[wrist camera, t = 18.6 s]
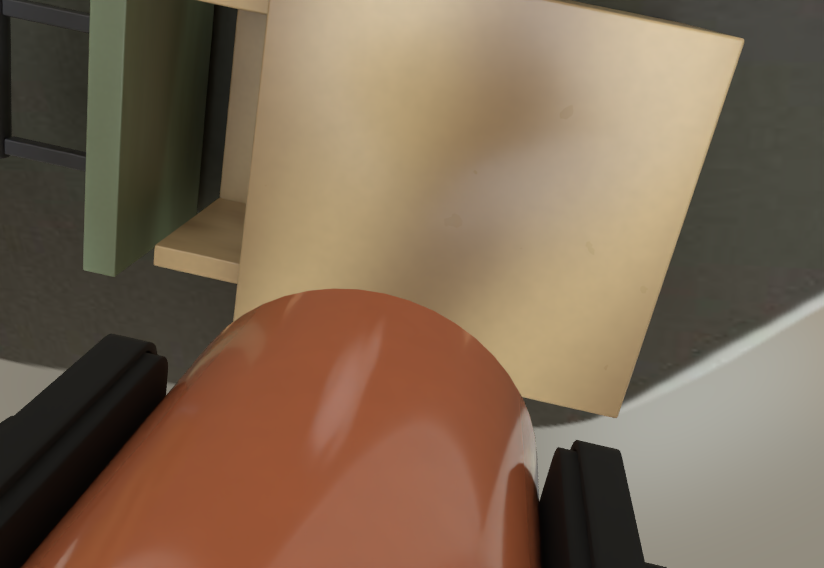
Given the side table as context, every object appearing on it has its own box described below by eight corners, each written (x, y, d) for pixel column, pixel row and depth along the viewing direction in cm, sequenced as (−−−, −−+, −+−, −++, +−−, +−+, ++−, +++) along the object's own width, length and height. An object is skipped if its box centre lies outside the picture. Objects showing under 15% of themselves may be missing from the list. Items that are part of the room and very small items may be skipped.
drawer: (50, 184, 35) (-69, 236, 28) (53, -89, 31) (-87, -110, 24) (441, 270, 34) (422, 347, 27) (499, 3, 30) (495, 9, 23)
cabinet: (301, 245, 36) (231, 331, 27) (342, -47, 31) (273, -58, 22) (591, 309, 35) (617, 419, 26) (678, 22, 30) (746, 39, 22)
